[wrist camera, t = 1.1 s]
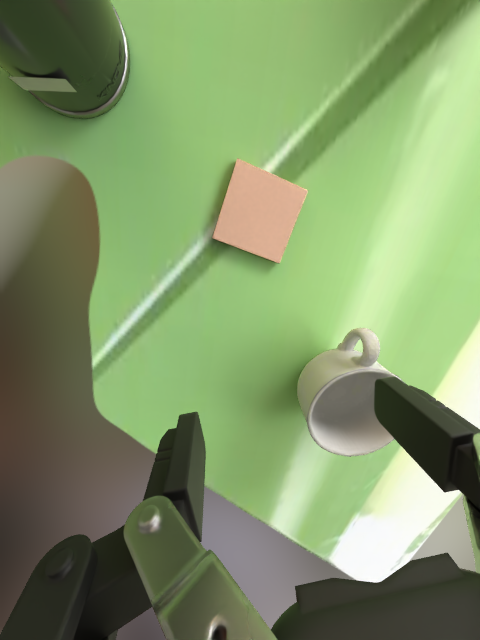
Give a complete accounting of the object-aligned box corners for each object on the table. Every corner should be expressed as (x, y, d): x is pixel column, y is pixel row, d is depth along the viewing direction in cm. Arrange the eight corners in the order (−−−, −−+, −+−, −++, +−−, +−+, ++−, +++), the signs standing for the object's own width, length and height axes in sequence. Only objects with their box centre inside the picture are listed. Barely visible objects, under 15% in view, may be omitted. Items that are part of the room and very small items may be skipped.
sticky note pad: (211, 238, 26) (212, 238, 25) (236, 160, 24) (237, 157, 23) (277, 263, 27) (279, 263, 27) (305, 191, 25) (308, 190, 25)
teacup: (349, 415, 35) (388, 463, 27) (277, 406, 33) (297, 454, 25) (387, 323, 31) (444, 349, 24) (308, 307, 29) (342, 329, 22)
